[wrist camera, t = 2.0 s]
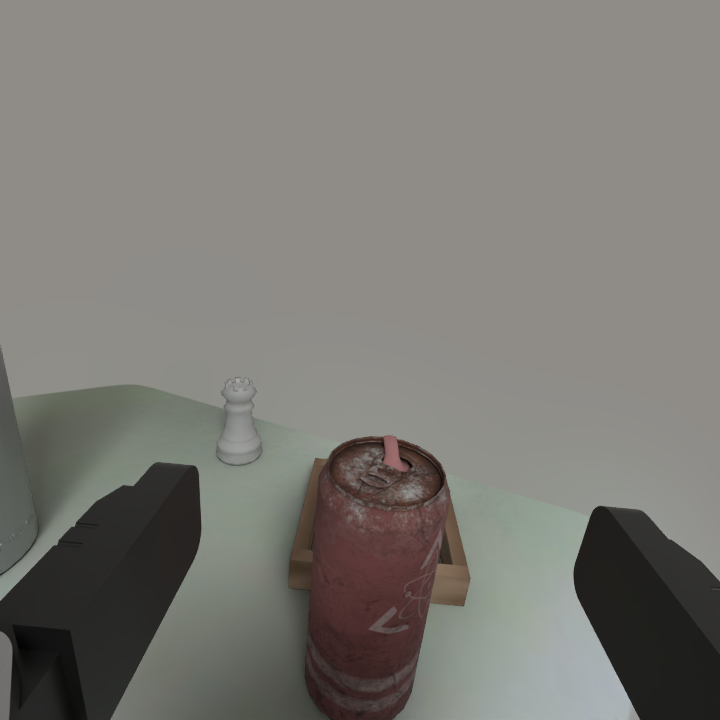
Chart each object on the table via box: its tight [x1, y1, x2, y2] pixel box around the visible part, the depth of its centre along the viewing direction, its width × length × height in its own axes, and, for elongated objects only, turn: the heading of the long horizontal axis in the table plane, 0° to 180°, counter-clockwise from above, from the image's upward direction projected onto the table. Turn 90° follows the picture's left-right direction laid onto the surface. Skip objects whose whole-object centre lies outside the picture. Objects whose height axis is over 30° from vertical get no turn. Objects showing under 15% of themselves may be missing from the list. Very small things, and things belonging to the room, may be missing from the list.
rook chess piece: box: [216, 377, 262, 466], centre depth 42 cm, size 4×4×8 cm
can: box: [305, 435, 450, 720], centre depth 22 cm, size 6×6×14 cm
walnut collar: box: [289, 458, 471, 606], centre depth 34 cm, size 12×12×2 cm
